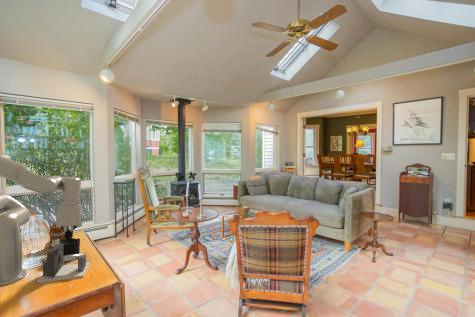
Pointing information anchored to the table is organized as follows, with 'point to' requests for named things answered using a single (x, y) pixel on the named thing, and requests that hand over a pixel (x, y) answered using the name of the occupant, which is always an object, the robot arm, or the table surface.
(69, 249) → the pen holder
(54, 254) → the collar
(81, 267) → the pipe
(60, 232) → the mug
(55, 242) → the valve
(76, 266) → the base board
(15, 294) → the table surface
